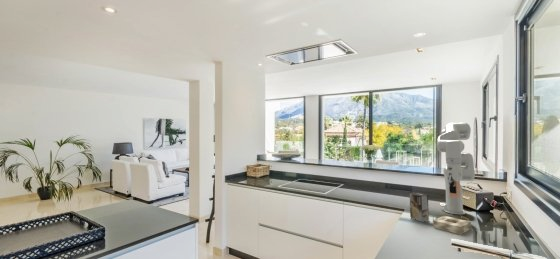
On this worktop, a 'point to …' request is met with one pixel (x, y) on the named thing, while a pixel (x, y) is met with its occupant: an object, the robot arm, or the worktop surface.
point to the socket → (452, 224)
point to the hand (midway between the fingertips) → (454, 192)
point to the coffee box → (419, 207)
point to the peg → (457, 194)
